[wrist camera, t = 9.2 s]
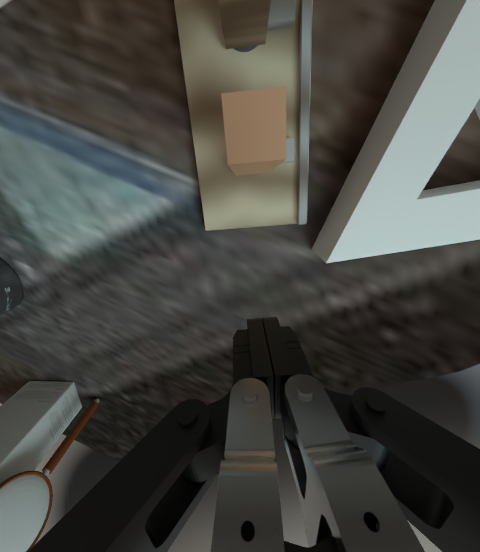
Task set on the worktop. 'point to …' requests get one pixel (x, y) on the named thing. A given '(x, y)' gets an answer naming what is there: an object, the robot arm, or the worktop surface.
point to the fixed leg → (254, 20)
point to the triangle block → (414, 149)
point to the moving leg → (256, 130)
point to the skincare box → (34, 423)
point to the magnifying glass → (31, 498)
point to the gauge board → (210, 124)
